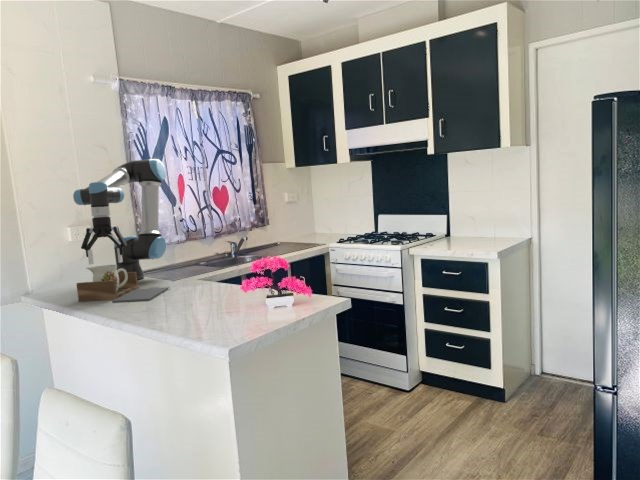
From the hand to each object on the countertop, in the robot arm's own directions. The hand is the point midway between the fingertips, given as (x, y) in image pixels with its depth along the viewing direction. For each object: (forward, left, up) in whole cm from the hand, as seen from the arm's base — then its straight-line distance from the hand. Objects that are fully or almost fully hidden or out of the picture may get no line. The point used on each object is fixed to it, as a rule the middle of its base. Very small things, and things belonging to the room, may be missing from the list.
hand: (106, 263), depth 220 cm
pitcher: (0, 0, -15) cm, 15 cm away
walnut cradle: (0, 0, -15) cm, 15 cm away
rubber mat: (+7, +18, -15) cm, 24 cm away
